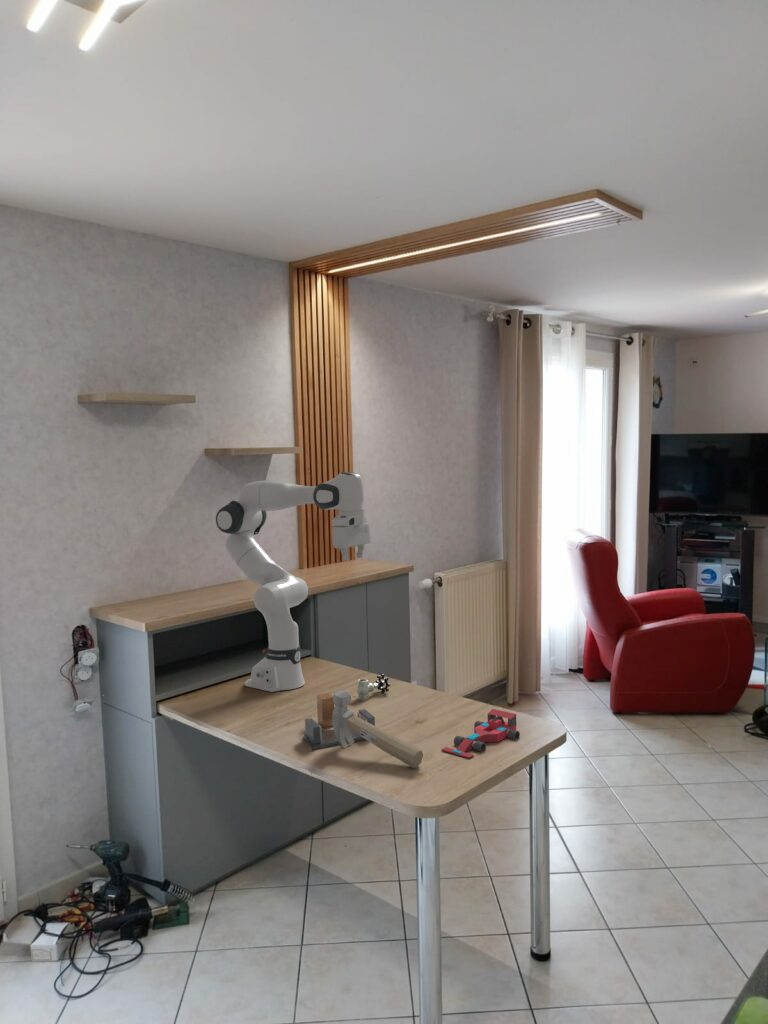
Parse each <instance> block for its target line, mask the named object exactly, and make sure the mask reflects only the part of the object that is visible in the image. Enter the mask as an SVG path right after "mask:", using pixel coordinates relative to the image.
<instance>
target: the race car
mask: <svg viewBox="0 0 768 1024" xmlns="http://www.w3.org/2000/svg"><path fill="white" fill-rule="evenodd" d="M504 718H505V719H507V721H505V720H504ZM473 728H474V729H473V731H474V732H473V734H472V733H471V734H470V735H468V736H466V737H464V736H461V735H456V736H455V737H454V739H453V744H454V745H455V746H457V748H452V747H451V748H450V747H447V746H445V747H443V748H442V749H441V752H446V753H449V754H452V755H456V756H459V757H463V758H466V759H471V758H473V757H474V754H472V753H468V752H469V751H470V750H472V749H473V750H474V751H475V752H480V753H483V751H486V750H487V744H486V743H495V742H500V741H502V740H504V739H505V738H508V739H510V740H515V741H516V740H517V738H518V739H519V738H520V735H521V734H520V730H517V713H513V712H508V711H505V710H500V709H495V708H492V709H491V710H489V711H488V713H487V721H486V722H484V721H480V720H475V722H474V724H473Z"/></svg>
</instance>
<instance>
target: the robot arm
mask: <svg viewBox="0 0 768 1024" xmlns="http://www.w3.org/2000/svg"><path fill="white" fill-rule="evenodd" d="M239 493H240V496H239V499H238V500H237V501H236V500H231V501H230V502H229V503H227V504H225V505H223V507H221V508H220V509H219V510H218V511H217V512H216V515H215V524H216V527H217V528H218V529H219V530H220V532H222V533H225V534H230V535H229V536H228V537H227V539H226V541H225V548H226V550H227V551H228V553H229V555H230V557H231V559H232V560H233V561H234V563H235V564H236V565H237V567H238V568H239V569H240V571H241V572H243V573H244V575H245V576H246V577H247V580H248V579H249V581H250V582H251V583H253V584H256V585H258V586H260V587H259V588H258V589H257V590H255V592H254V594H253V603H254V606H255V608H256V609H257V610H258V611H259V612H260V613H261V614H262V616H263V617H264V620H265V622H266V623H265V624H266V627H267V638H268V639H267V641H268V647H267V648H265V649H263V650H262V654H265V655H264V657H263V658H262V659H261V660H260V661H259V662H257V663H256V664H255V665H254V666H253V667H252V669H251V673H250V678H248V679H247V680H246V681H244V686H245V687H248V688H253V689H257V690H262V691H266V692H270V693H274V692H280V691H287V690H288V691H289V690H295V689H299V688H300V687H302V686H305V684H306V682H305V678H304V675H303V672H302V670H303V669H302V665H301V657H302V653H301V645H300V638H299V625H298V623H297V622H296V621H294V620H293V617H292V614H291V610H290V608H293V607H296V606H299V605H300V604H301V603H303V602H304V601H305V600H306V599H307V597H308V595H309V587H308V584H307V582H306V581H305V580H304V579H303V578H301V577H298V576H295V575H294V574H291V573H290V572H288V571H287V570H285V569H284V568H282V566H280V565H278V564H277V562H275V561H274V560H273V559H272V557H270V555H269V554H268V553H267V552H266V551H265V550H264V548H263V547H262V546H261V545H260V544H259V543H258V541H257V540H256V539H255V535H257V534H258V535H259V533H260V531H261V529H262V527H263V526H264V525H265V523H266V520H267V512H272V511H273V512H274V511H280V510H281V511H282V510H286V509H289V508H294V507H299V506H301V505H303V506H304V505H310V504H315V505H316V507H317V508H319V509H320V510H326V511H328V510H337V509H338V514H337V515H336V516H335V517H333V519H332V520H331V526H333V527H332V545H333V548H335V549H340V553H341V555H342V561H343V562H348V561H350V555H349V553H348V551H349V548H353V547H357V552H356V553H355V554H356V555H355V556H356V558H358V559H361V558H363V556H364V555H363V553H364V550H365V545H366V544H367V545H368V544H370V542H371V533H370V526H369V523H368V520H367V519H366V517H365V507H364V499H365V490H364V482H363V478H362V476H361V475H360V474H358V473H357V472H353V471H350V472H349V471H342V472H339V473H338V475H335V477H334V478H332V479H330V480H327V481H324V482H322V483H319V484H317V485H316V486H314V485H313V486H309V485H301V484H296V483H290V482H285V481H280V480H259V481H253V482H249V483H246V484H244V486H242V487H241V491H240V492H239Z"/></svg>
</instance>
